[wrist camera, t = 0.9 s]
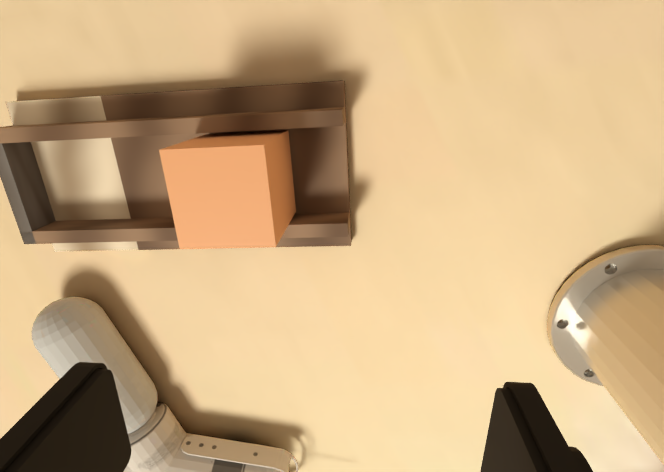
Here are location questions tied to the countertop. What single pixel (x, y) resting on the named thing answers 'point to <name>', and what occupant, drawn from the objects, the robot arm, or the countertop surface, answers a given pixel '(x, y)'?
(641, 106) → the countertop surface
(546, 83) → the countertop surface
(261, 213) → the block
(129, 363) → the gun
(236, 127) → the chute
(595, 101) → the countertop surface
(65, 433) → the robot arm
